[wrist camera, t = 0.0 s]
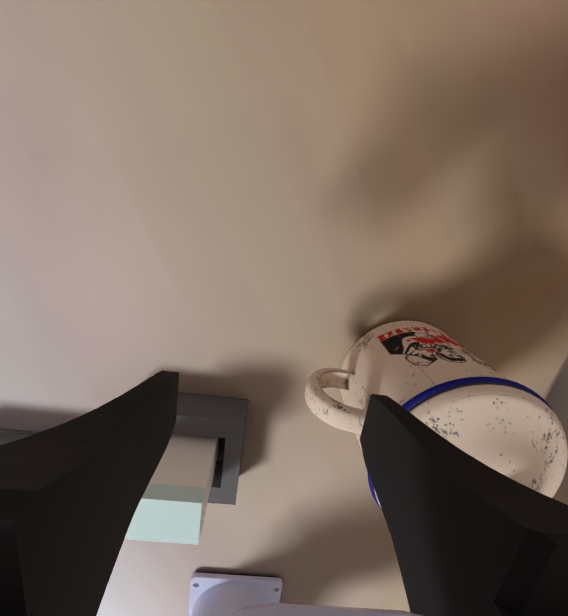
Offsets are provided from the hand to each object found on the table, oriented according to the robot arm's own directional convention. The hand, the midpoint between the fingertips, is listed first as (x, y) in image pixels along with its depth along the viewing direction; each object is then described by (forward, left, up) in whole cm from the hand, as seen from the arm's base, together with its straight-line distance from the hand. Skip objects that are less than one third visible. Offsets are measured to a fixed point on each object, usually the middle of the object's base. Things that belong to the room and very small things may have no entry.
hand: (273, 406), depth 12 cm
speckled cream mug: (-3, -8, -10) cm, 13 cm away
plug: (-10, +5, -10) cm, 15 cm away
